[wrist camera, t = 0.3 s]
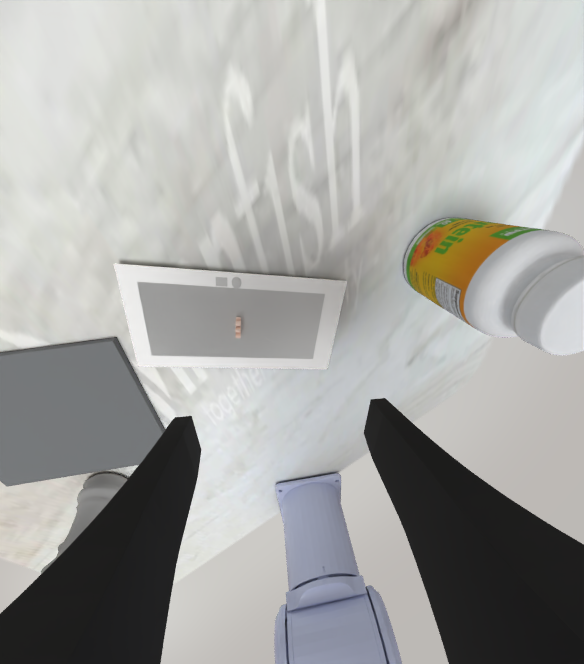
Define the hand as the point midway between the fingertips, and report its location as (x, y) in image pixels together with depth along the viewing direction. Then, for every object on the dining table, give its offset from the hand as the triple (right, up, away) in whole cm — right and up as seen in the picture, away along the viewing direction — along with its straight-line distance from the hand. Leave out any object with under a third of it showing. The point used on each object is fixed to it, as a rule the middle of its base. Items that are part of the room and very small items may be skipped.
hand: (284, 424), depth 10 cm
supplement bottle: (+11, +9, +8) cm, 17 cm away
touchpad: (-4, +5, +9) cm, 11 cm away
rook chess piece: (-19, -12, +16) cm, 28 cm away
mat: (-20, -4, +11) cm, 23 cm away
